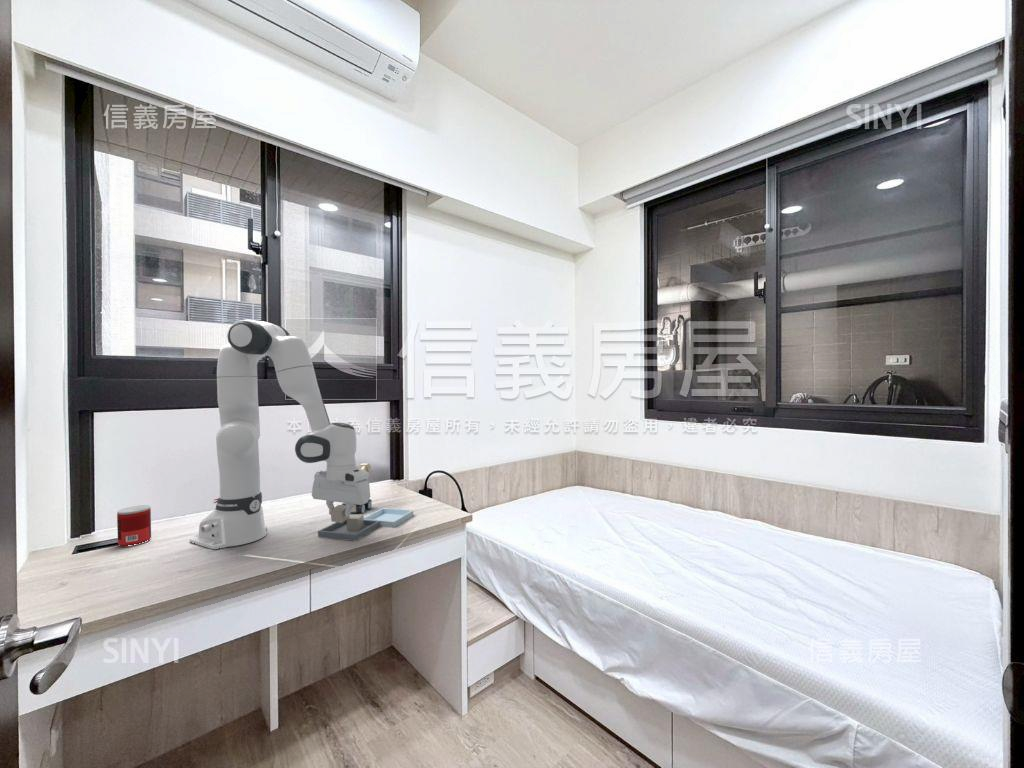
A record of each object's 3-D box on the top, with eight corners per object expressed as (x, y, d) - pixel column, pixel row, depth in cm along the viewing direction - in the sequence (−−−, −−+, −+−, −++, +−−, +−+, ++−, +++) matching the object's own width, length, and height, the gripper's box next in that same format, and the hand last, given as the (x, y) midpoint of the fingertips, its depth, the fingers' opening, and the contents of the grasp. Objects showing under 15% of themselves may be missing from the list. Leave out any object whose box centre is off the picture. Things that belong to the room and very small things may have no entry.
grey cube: (331, 521, 135) (330, 510, 134) (339, 515, 139) (338, 504, 138) (342, 523, 134) (341, 511, 133) (349, 517, 138) (349, 505, 137)
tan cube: (347, 530, 140) (346, 518, 140) (352, 526, 144) (352, 514, 144) (358, 530, 140) (358, 518, 140) (363, 526, 144) (363, 514, 144)
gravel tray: (318, 538, 135) (317, 531, 135) (344, 524, 147) (344, 518, 147) (355, 542, 131) (355, 534, 131) (379, 528, 144) (379, 521, 144)
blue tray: (361, 525, 146) (360, 519, 146) (382, 514, 159) (382, 507, 159) (394, 529, 142) (394, 522, 142) (413, 516, 155) (413, 510, 155)
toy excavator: (379, 503, 173) (378, 462, 173) (360, 516, 157) (359, 471, 156) (359, 503, 174) (358, 462, 174) (339, 516, 157) (338, 470, 157)
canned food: (157, 539, 136) (156, 505, 136) (129, 548, 129) (128, 513, 129) (140, 537, 138) (139, 504, 138) (111, 546, 131) (110, 511, 131)
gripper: (307, 471, 136) (306, 514, 136) (361, 477, 130) (359, 521, 130) (322, 468, 142) (320, 508, 142) (373, 473, 136) (371, 516, 136)
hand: (339, 515), depth 136 cm, fingers closed on grey cube, 4 cm apart
